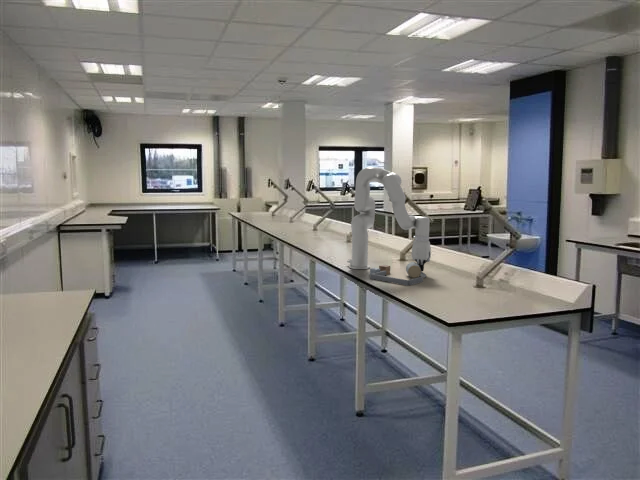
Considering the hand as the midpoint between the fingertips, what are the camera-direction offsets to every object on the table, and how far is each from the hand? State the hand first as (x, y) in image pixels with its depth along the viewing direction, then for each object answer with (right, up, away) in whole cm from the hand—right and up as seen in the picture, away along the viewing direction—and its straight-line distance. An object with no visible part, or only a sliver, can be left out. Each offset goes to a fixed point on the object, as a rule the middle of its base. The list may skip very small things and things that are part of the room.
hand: (420, 271), depth 288 cm
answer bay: (-17, -4, -18) cm, 25 cm away
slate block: (-26, -2, -6) cm, 27 cm away
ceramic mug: (-4, -3, -8) cm, 10 cm away
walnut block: (-20, -1, 0) cm, 20 cm away
